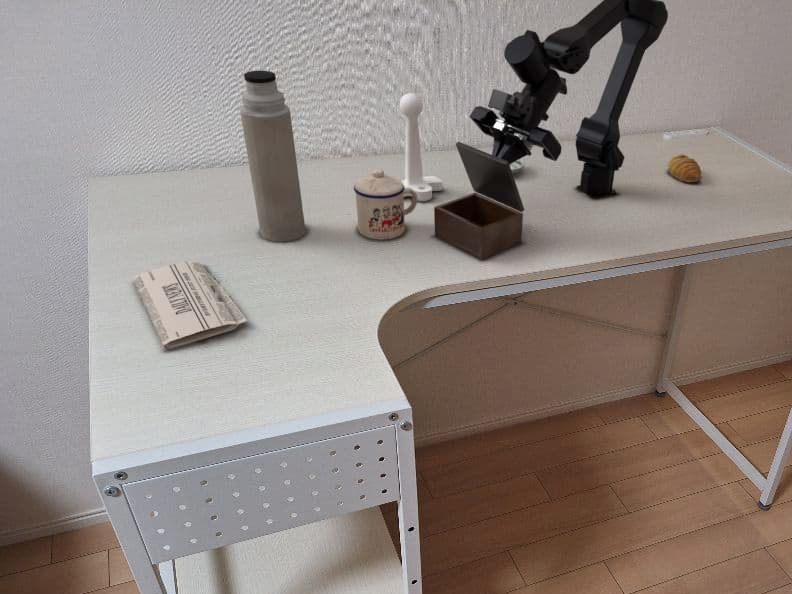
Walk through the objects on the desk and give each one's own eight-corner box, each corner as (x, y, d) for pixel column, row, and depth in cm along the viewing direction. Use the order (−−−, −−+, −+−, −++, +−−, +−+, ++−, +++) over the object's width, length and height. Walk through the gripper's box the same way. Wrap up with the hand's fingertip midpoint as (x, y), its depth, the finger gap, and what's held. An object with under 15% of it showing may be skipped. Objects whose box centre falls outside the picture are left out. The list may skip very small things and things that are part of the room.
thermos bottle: (277, 219, 146) (253, 63, 129) (313, 228, 144) (294, 71, 127) (251, 236, 140) (223, 75, 123) (289, 245, 138) (266, 83, 121)
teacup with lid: (369, 244, 140) (364, 183, 133) (349, 225, 146) (344, 165, 139) (428, 232, 146) (426, 173, 139) (407, 214, 152) (405, 156, 145)
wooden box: (481, 260, 138) (482, 229, 135) (434, 236, 145) (434, 206, 141) (521, 243, 145) (523, 213, 141) (474, 221, 151) (475, 192, 148)
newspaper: (251, 329, 116) (247, 316, 114) (168, 357, 111) (162, 343, 109) (211, 264, 130) (206, 251, 129) (135, 286, 125) (130, 273, 124)
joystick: (432, 184, 164) (430, 87, 152) (450, 196, 160) (449, 97, 148) (385, 193, 159) (379, 93, 147) (402, 207, 154) (398, 105, 142)
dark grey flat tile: (505, 164, 132) (508, 161, 132) (455, 143, 138) (458, 141, 138) (521, 212, 141) (524, 209, 141) (473, 191, 147) (476, 188, 147)
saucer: (472, 172, 171) (472, 162, 170) (497, 160, 178) (497, 150, 176) (508, 183, 167) (509, 173, 166) (532, 171, 174) (533, 160, 173)
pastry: (707, 183, 175) (710, 167, 173) (681, 185, 173) (684, 169, 171) (689, 168, 182) (692, 152, 180) (663, 170, 180) (666, 154, 178)
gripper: (477, 59, 137) (432, 133, 137) (556, 84, 128) (508, 164, 128) (506, 97, 147) (463, 166, 146) (581, 122, 137) (536, 197, 137)
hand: (491, 172), depth 139 cm, fingers closed
